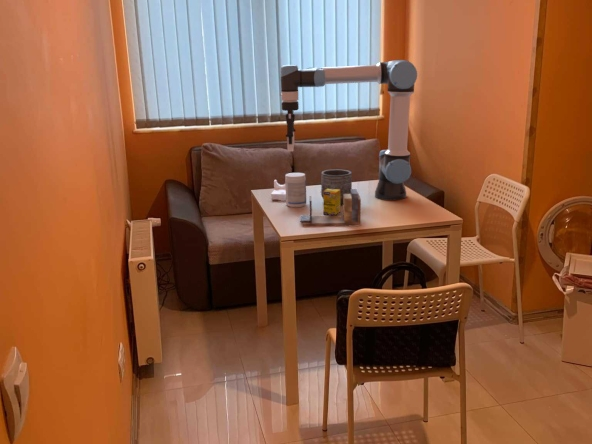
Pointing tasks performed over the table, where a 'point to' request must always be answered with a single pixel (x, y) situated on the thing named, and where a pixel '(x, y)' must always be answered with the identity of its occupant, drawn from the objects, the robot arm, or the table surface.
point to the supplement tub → (295, 189)
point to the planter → (337, 181)
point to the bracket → (279, 191)
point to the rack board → (333, 219)
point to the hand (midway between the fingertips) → (291, 148)
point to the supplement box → (331, 202)
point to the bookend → (307, 217)
